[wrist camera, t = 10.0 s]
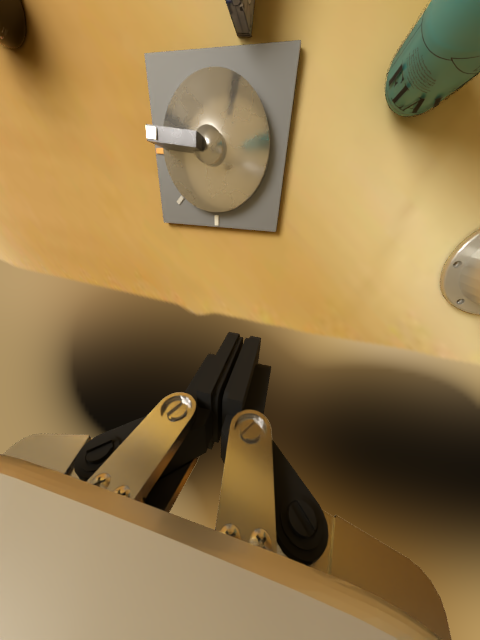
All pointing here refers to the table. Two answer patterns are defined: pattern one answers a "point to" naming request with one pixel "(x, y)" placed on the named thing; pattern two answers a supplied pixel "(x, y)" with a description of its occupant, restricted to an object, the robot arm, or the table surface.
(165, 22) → the table surface
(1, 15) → the supplement bottle
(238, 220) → the dial plate
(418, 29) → the beverage bottle
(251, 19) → the mini dv tape
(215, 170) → the dial
